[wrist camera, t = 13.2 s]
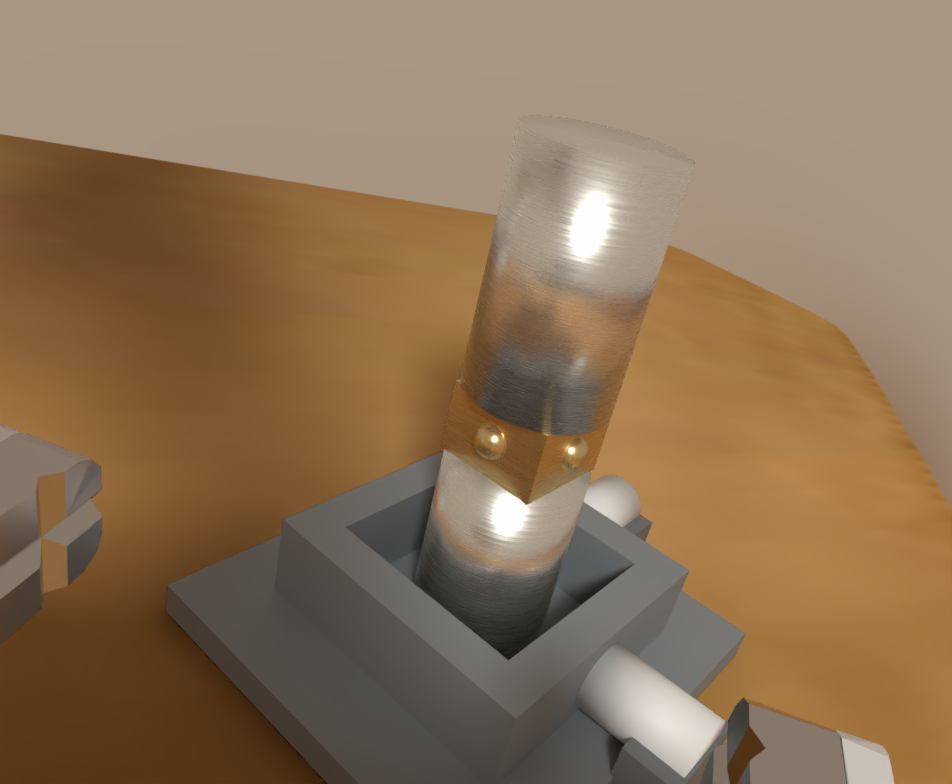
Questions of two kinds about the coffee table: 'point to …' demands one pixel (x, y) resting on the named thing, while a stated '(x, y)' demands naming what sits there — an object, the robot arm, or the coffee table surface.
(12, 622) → the robot arm
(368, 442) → the coffee table surface
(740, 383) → the coffee table surface
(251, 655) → the shaft housing
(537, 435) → the coupler
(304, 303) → the coffee table surface
